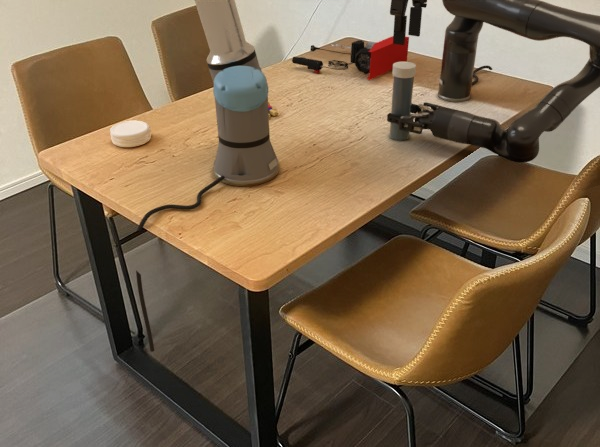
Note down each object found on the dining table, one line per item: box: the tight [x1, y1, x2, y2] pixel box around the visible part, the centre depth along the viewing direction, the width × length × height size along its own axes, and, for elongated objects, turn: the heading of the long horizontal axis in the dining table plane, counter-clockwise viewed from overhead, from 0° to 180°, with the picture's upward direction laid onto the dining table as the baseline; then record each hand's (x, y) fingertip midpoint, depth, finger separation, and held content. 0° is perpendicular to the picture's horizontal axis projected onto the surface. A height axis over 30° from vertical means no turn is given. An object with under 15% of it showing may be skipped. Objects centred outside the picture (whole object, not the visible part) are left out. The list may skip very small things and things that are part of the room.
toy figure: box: [268, 101, 278, 119], centre depth 176 cm, size 2×7×12 cm
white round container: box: [109, 119, 152, 148], centre depth 160 cm, size 10×10×4 cm
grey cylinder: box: [389, 76, 415, 141], centre depth 156 cm, size 5×5×18 cm
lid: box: [391, 61, 417, 78], centre depth 152 cm, size 6×6×2 cm
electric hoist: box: [291, 35, 410, 81], centre depth 208 cm, size 10×27×30 cm
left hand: (406, 39), depth 148 cm, fingers open, 8 cm apart
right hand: (396, 111), depth 158 cm, fingers open, 8 cm apart
